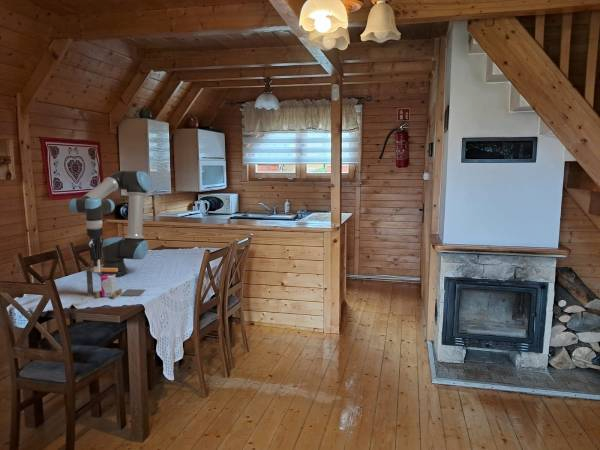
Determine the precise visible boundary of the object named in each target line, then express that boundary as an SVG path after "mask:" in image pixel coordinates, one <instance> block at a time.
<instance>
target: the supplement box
mask: <svg viewBox="0 0 600 450" xmlns="http://www.w3.org/2000/svg"><path fill="white" fill-rule="evenodd" d="M116 283H117V282H116V277H115V274H104V275H103V276H101V275H100V286H101V287H100V288H101V289H100V291H101V290H102V296H101V298H102V297H112V294H113V293H115V292H116V291H117V284H116Z"/></svg>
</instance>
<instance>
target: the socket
mask: <svg viewBox="0 0 600 450" xmlns="http://www.w3.org/2000/svg"><path fill="white" fill-rule="evenodd" d="M93 282H94V281H93V271H86V284H87V285H86V286H87V287H86V288H87V296H88V297H95V298H98V299H100V298H101V297H102V290H101V289H100V290H99V291H98V292H94V283H93ZM122 290H123V289H122V288H118V289H116V292H115V293H113V294H112V299H111V300H115V299H116V298H118V297H119V296H120V295H121V294H122V293H123V292H122ZM118 295H119V296H118ZM100 296H101V297H100ZM99 297H100V298H99ZM114 298H115V299H114Z"/></svg>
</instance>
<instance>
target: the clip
mask: <svg viewBox="0 0 600 450" xmlns="http://www.w3.org/2000/svg"><path fill="white" fill-rule="evenodd" d="M87 271H92V272H94V266H85V272H87ZM101 271H103V272H117V271H118V268H102V267H100V272H101Z"/></svg>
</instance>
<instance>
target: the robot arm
mask: <svg viewBox="0 0 600 450" xmlns="http://www.w3.org/2000/svg"><path fill="white" fill-rule="evenodd" d="M151 184H152V183H151V177H150V176H149V174H148V173H147V172H145V171H140V170H138V171H137V170H121V171H116V172H114V173H111V174H110V175H108V176H106V177H105V178H104V179H103V181H102V182H100V184H98V185H97V186H95V187H94V188H92V189H91V190H90V191H88V192H87V193H86V194H84V195H83V196H82V197H80V198H72V199H70V201H69V202H68V203H69V204H68V207H69V210H70V211H71V213H76V214H85V225H86V226H85V227H86V235H87V236H88V237H89V243H86V245H87V247H88V251H89V257H90V260H91V261H93V263H92V264H93V267H94V271H93V272H94V273H100V277H101V276H103V275H104V274H115V278H119V277H123V276H126V275H128V268H127V266H126V264H125V261H124V260H142V259H144V258H146V255H147V253H148V250H149V244H148V242H147V241H146V240H145V239H146V238H145V236H144V235H143V229H144V228H143V225H144V224H143V223H144V203H145V201H144V199H145V196H146V195H147V192H148V191H150V189H151ZM121 190H122V191H126V194H127V195H128V207H127V208H128V214H127V215H128V216H127V234H126V236H124V238H123V236H115V237H114V236H113V237H109V238H105V239H103V238H101V236H103V235H104V232H103V230H104V228H103V215H106V214H110V213H112V212H113V211H114V210H115V206H116V205H115V202H114V200H112V199H110V198H106V197H108V195H110V194H111V193H115V192H117V191H121ZM102 256H103V257H102ZM102 258H103V263H102V267H101V262H100V260H102ZM100 268H118V271H117V272H103V271H100Z"/></svg>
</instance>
